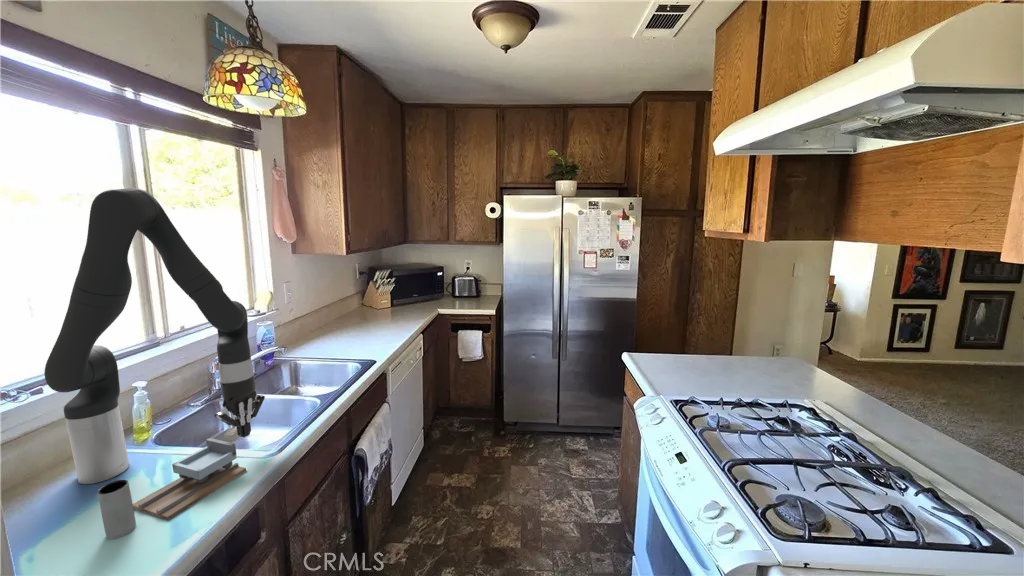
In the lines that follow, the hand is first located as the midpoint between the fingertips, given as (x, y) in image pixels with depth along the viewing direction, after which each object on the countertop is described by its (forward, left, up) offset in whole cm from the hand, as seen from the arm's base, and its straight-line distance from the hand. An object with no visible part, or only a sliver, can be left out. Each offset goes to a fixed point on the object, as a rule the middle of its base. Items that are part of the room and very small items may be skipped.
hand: (244, 435), depth 107 cm
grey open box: (0, -10, -4) cm, 11 cm away
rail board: (0, -14, -6) cm, 15 cm away
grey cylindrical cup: (0, -28, -6) cm, 29 cm away
